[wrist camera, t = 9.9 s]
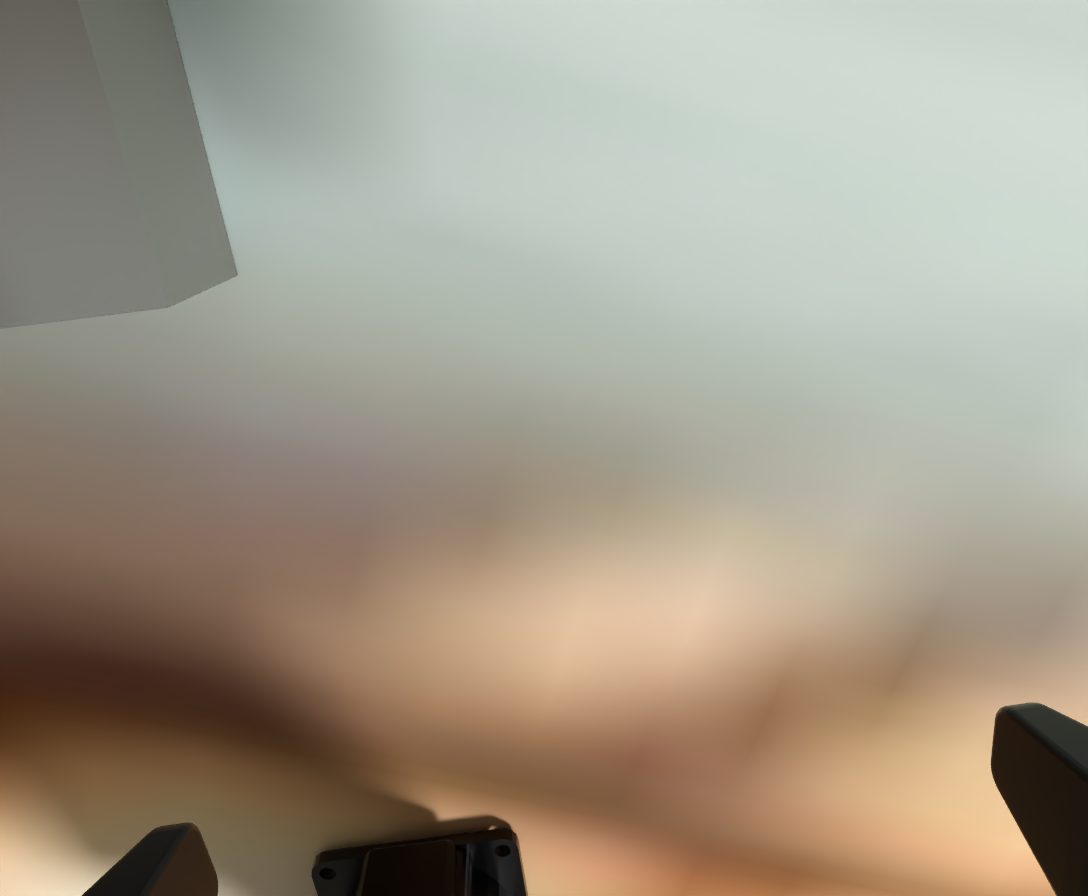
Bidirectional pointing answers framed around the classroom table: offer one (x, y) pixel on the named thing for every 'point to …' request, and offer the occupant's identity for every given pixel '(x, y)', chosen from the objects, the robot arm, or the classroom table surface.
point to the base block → (100, 165)
